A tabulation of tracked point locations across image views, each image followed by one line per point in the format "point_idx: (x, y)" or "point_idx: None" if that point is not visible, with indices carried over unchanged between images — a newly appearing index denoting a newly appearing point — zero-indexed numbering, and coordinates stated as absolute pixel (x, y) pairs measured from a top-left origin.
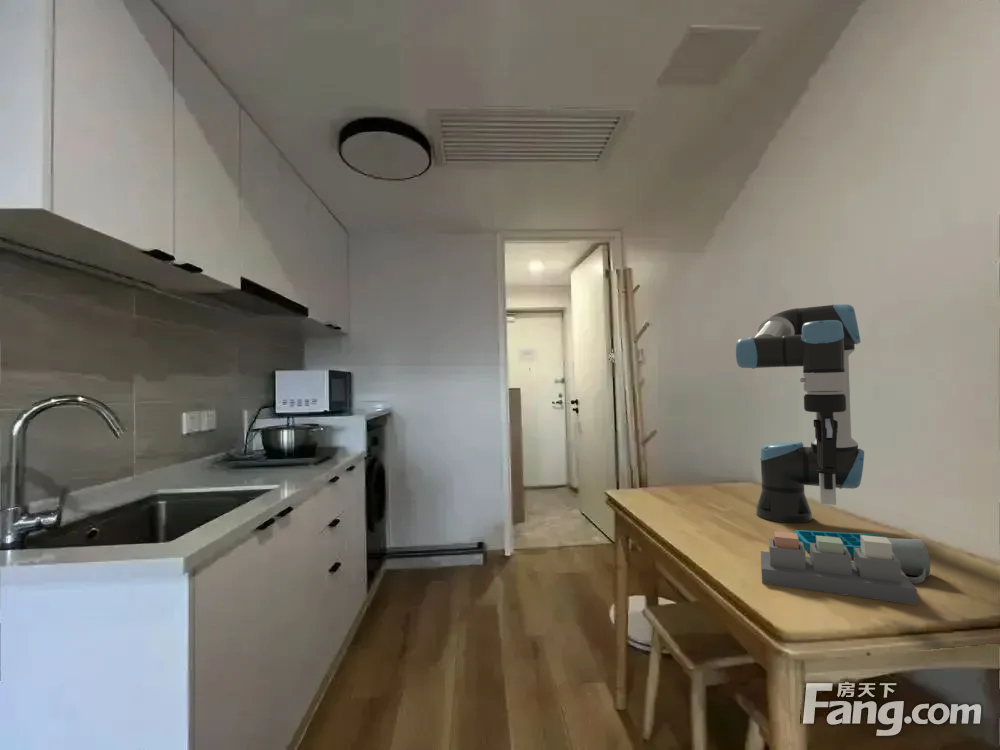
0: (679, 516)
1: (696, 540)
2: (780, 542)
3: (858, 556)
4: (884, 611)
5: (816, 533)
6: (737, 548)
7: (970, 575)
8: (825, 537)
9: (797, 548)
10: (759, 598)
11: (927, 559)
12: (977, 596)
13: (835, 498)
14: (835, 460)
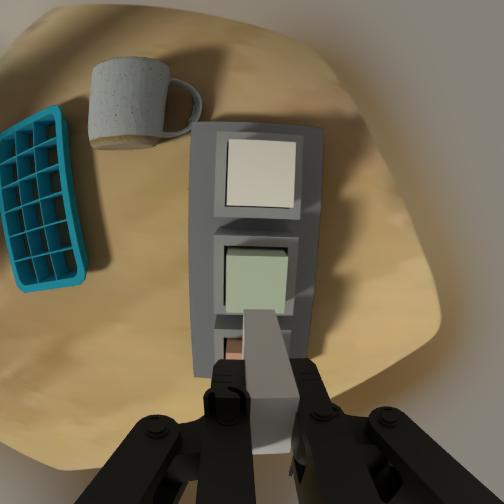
0: (31, 428)
1: (125, 433)
2: None
3: (284, 218)
4: (362, 195)
5: (13, 250)
6: (129, 387)
7: (122, 24)
8: (238, 292)
9: None
10: (362, 363)
11: (165, 66)
12: (228, 32)
13: (277, 323)
14: (451, 460)
